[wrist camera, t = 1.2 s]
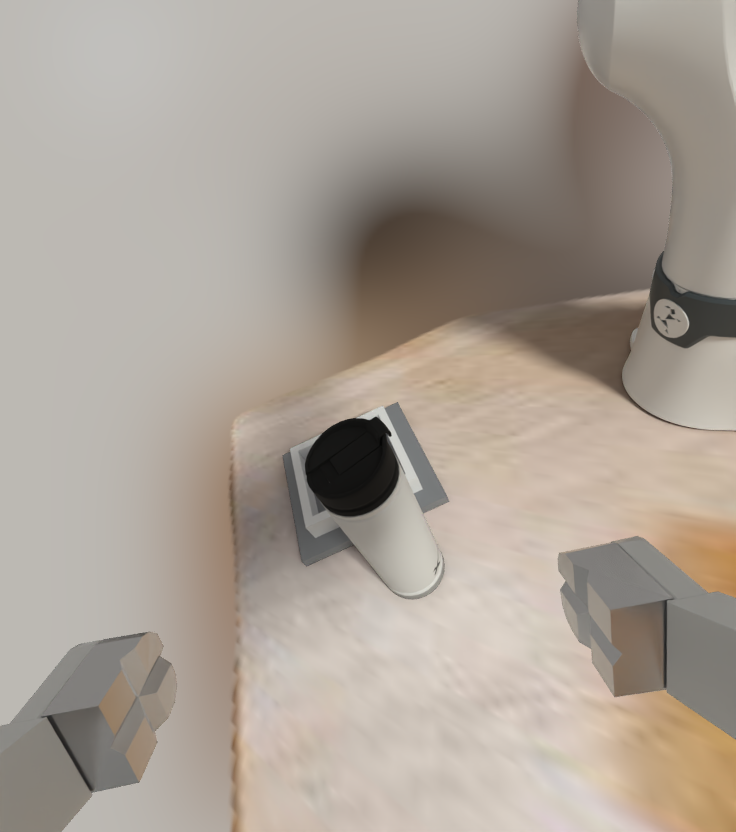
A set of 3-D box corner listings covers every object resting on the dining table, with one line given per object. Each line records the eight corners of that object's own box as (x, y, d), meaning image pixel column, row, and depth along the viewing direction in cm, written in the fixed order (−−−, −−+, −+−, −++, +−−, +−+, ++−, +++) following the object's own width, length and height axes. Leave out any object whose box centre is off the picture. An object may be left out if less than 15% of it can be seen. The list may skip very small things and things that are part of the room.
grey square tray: (399, 408, 56) (392, 389, 53) (449, 501, 44) (442, 483, 42) (286, 460, 56) (273, 444, 54) (306, 566, 45) (291, 552, 42)
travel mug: (461, 571, 39) (409, 449, 25) (404, 614, 38) (318, 511, 24) (424, 524, 44) (362, 397, 30) (372, 561, 43) (284, 448, 29)
